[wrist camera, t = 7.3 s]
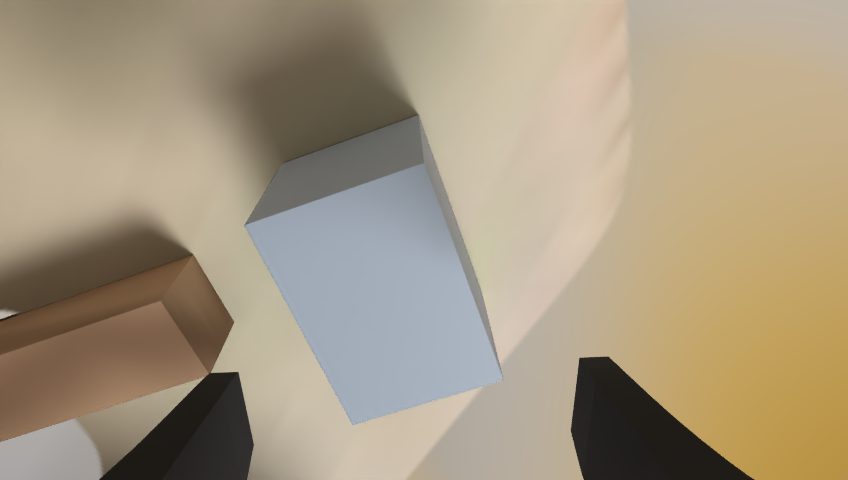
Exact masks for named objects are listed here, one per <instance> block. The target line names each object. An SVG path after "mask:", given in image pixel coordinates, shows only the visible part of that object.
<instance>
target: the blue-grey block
mask: <svg viewBox="0 0 848 480" xmlns="http://www.w3.org/2000/svg"><path fill="white" fill-rule="evenodd" d="M244 226H245V228H246V229H247V231H248V233H249V235H250V237H251V239H252V240H253V242H254V244H255V246H256V248H257V250H258V252H259V253H260V255H261V257H262V259H263V261H264V263H265V264H266V266H267V268H268V270H269V272H270V274H271V276H272V277H273V279H274V281H275V283H276V285H277V287H278V288H279V290H280V292H281V294H282V296H283V298H284V300H285V301H286V303H287V305H288V307H289V309H290V311H291V312H292V314H293V316H294V318H295V320H296V322H297V324H298V325H299V327H300V329H301V331H302V333H303V335H304V336H305V338H306V340H307V342H308V344H309V346H310V348H311V349H312V351H313V353H314V355H315V357H316V359H317V360H318V362H319V364H320V366H321V368H322V370H323V371H324V373H325V375H326V377H327V379H328V381H329V383H330V384H331V386H332V388H333V390H334V392H335V394H336V395H337V397H338V399H339V401H340V403H341V405H342V407H343V408H344V410H345V412H346V414H347V416H348V418H349V419H350V421H351V423H352V425H354V424H358V423H361V422H364V421H368V420H371V419H374V418H378V417H381V416H385V415H388V414H391V413H395V412H398V411H401V410H405V409H408V408H412V407H415V406H418V405H422V404H425V403H428V402H432V401H435V400H438V399H442V398H445V397H449V396H452V395H455V394H459V393H462V392H465V391H469V390H472V389H476V388H479V387H482V386H486V385H489V384H492V383H496V382H499V381H502V380H503V376H502V372H501V368H500V364H499V360H498V356H497V352H496V348H495V343H494V339H493V335H492V331H491V327H490V323H489V319H488V315H487V311H486V307H485V303H484V299H483V295H482V292H481V289H480V286H479V283H478V280H477V278H476V275H475V272H474V269H473V266H472V264H471V261H470V258H469V255H468V252H467V249H466V247H465V244H464V241H463V238H462V235H461V233H460V230H459V227H458V224H457V221H456V219H455V216H454V213H453V210H452V207H451V205H450V202H449V199H448V196H447V193H446V191H445V188H444V185H443V182H442V179H441V177H440V174H439V171H438V168H437V165H436V163H435V160H434V157H433V154H432V151H431V148H430V146H429V143H428V140H427V137H426V134H425V132H424V129H423V126H422V123H421V120H420V118H419V115H416V116H414V117H411V118H408V119H405V120H402V121H400V122H397V123H394V124H391V125H389V126H386V127H383V128H380V129H377V130H375V131H372V132H369V133H366V134H363V135H361V136H358V137H355V138H352V139H349V140H347V141H344V142H341V143H338V144H336V145H333V146H330V147H327V148H324V149H322V150H319V151H316V152H313V153H310V154H308V155H305V156H302V157H299V158H296V159H294V160H291V161H288V162H285V163H282V165H281V166H280V168H279V169H278V171H277V173H276V174H275V176H274V178H273V179H272V181H271V183H270V184H269V186H268V187H267V189H266V191H265V192H264V194H263V196H262V197H261V199H260V201H259V202H258V204H257V205H256V207H255V209H254V210H253V212H252V214H251V215H250V217H249V219H248V220H247V222H246V223H245V225H244Z"/></svg>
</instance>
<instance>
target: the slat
mask: <svg viewBox="0 0 848 480" xmlns="http://www.w3.org/2000/svg"><path fill="white" fill-rule="evenodd" d="M233 324H234V321H233V319H232V318H231V316H230V314H229V313H228V311H227V309H226V308H225V306H224V304H223V303H222V301H221V299H220V298H219V296H218V295H217V293H216V291H215V290H214V288H213V286H212V285H211V283H210V281H209V280H208V278H207V276H206V275H205V273H204V271H203V270H202V268H201V266H200V265H199V263H198V261H197V260H196V258H195V256H194V255H191V256H188V257H185V258H182V259H179V260H176V261H173V262H171V263H168V264H165V265H162V266H159V267H156V268H153V269H150V270H147V271H145V272H142V273H139V274H136V275H133V276H130V277H127V278H124V279H122V280H119V281H116V282H113V283H110V284H107V285H104V286H101V287H98V288H96V289H93V290H90V291H87V292H84V293H81V294H78V295H75V296H73V297H70V298H67V299H64V300H61V301H58V302H55V303H52V304H49V305H47V306H44V307H41V308H38V309H35V310H32V311H29V312H26V313H24V314H21V315H19V314H13V315H11V316H8V317H5V318H2V319H0V442H1V441H4V440H8V439H11V438H14V437H17V436H20V435H23V434H26V433H29V432H33V431H36V430H39V429H42V428H45V427H48V426H51V425H55V424H58V423H61V422H64V421H67V420H70V419H73V418H77V417H80V416H83V415H86V414H89V413H92V412H95V411H98V410H102V409H105V408H108V407H111V406H114V405H117V404H120V403H124V402H127V401H130V400H133V399H136V398H139V397H142V396H145V395H149V394H152V393H155V392H158V391H161V390H164V389H167V388H170V387H174V386H177V385H180V384H183V383H186V382H189V381H192V380H196V379H199V378H202V377H205V376H207V375H208V374H209V373H211V371H212V369H213V367H214V365H215V362H216V360H217V358H218V356H219V354H220V352H221V350H222V347H223V345H224V343H225V341H226V339H227V337H228V335H229V332H230V330H231V328H232V326H233Z"/></svg>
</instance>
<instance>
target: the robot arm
mask: <svg viewBox="0 0 848 480" xmlns="http://www.w3.org/2000/svg"><path fill="white" fill-rule="evenodd" d="M571 433H572V437H573V440H574V445H575V449H576V453H577V457H578V461H579V465H580V468H581V472H582V476H583V478H584V480H754V479H752V478H751V477H749V476H748V475H746V474H745V473H744V472H742V471H741V470H740V469H738V468H737V467H735V466H734V465H733V464H731V463H730V462H729V461H727V460H726V459H725V458H724V457H722V456H721V455H720V454H718V453H717V452H716V451H715V450H713V449H712V448H711V447H710V446H708V445H707V444H706V443H704V442H703V441H702V440H701V439H699V438H698V437H697V436H696V435H695V434H693V433H692V432H691V431H690V430H689V429H687V428H686V427H685V426H684V425H683V424H681V423H680V422H679V421H678V420H677V419H676V418H675V417H673V416H672V415H671V414H670V413H669V412H668V411H666V410H665V409H664V408H663V407H662V406H661V405H660V404H659V403H658V402H657V401H655V400H654V399H653V398H652V397H651V396H650V395H649V394H648V393H647V392H646V391H644V390H643V389H642V388H641V387H640V386H639V385H638V384H637V383H636V382H635V381H634V380H633V379H631V377H629V376H628V375H627V374H626V373H625V372H624V371H623V370H622V369H621V368H620V367H619V366H618V365H617V364H616V363H615V362H613V361H612V360H611V359H610V358H609V357H589V358H580V359H579V367H578V375H577V384H576V393H575V401H574V410H573V417H572V426H571ZM253 446H254V443H253V439H252V434H251V429H250V425H249V420H248V415H247V411H246V406H245V401H244V397H243V392H242V387H241V382H240V378H239V373H238V372H227V373H209V374H208V375H207V376H206V377H205V378H204V379H203V380H202V381H201V382H200V383H199V384H198V385H197V386H196V387H195V388H194V389H193V390H192V391H191V392H190V393H189V394H188V395H187V396H186V397H185V398H184V399H183V400H182V401H181V402H180V403H179V404H178V405H177V406H176V407H175V408H174V409H173V410H172V411H171V412H170V413H169V414H168V415H167V416H166V417H165V418H164V419H163V420H162V421H161V422H160V423H159V424H158V425H157V426H156V427H155V428H154V429H153V430H152V431H151V432H150V433H149V434H148V435H147V436H146V437H145V438H144V439H143V440H142V441H141V442H140V443H139V444H138V445H137V446H136V447H135V448H134V449H133V450H131V451H130V452H129V453H128V454H127V455H126V456H125V457H124V458H123V459H121V460H120V461H119V462H118V463H117V464H116V465H115V466H114V467H113V468H112V469H110V470H109V471H108V472H107V473H106V474H105V475H104V476H103V477H102V478H100V479H99V480H247V476H248V472H249V467H250V461H251V456H252V451H253Z"/></svg>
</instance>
